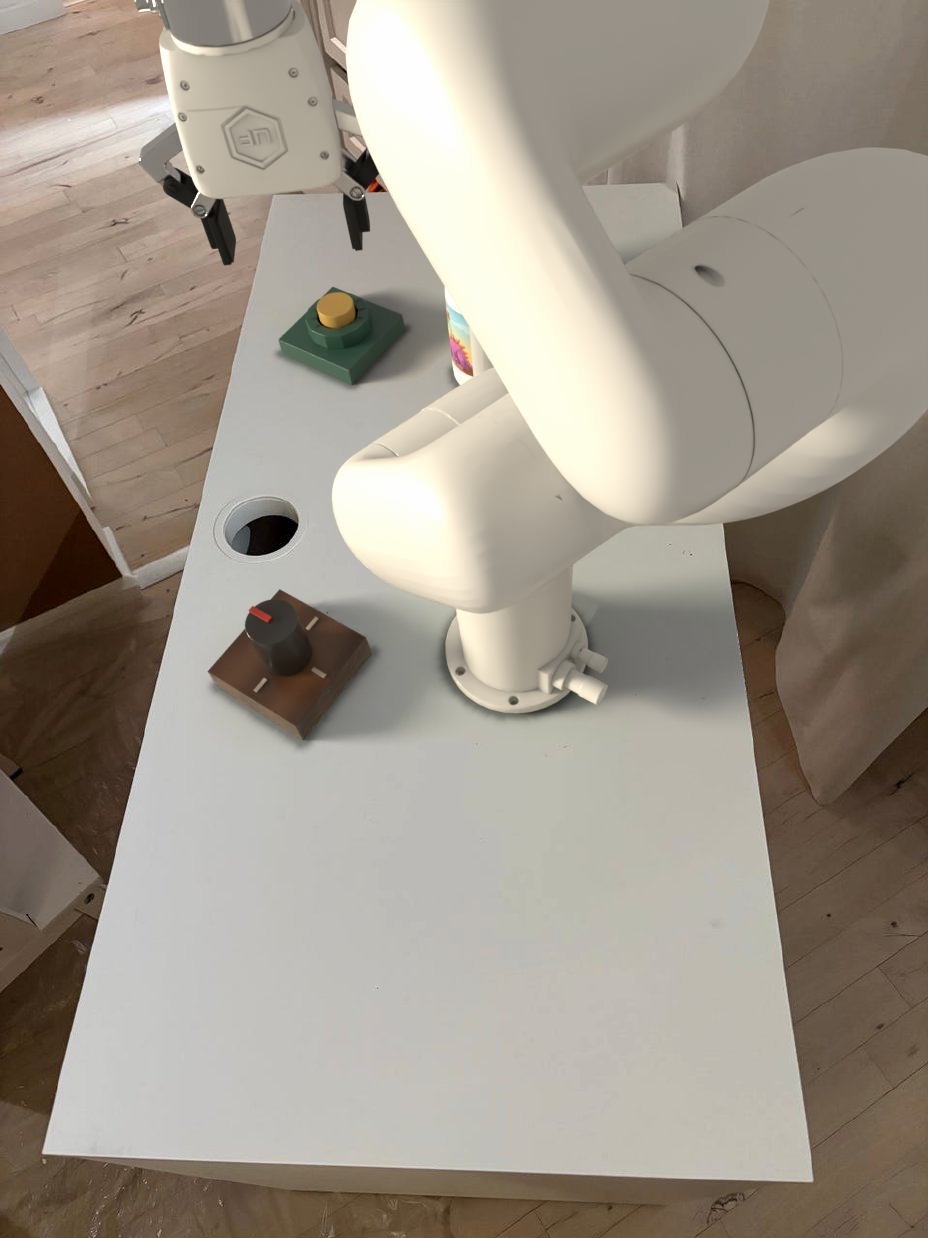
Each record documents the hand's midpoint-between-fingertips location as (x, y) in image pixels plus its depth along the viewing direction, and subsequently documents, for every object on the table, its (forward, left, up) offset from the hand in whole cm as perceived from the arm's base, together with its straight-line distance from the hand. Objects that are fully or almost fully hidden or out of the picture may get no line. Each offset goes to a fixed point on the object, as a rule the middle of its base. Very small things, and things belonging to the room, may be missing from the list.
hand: (294, 246), depth 71 cm
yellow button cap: (+15, -17, -26) cm, 34 cm away
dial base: (-7, +19, -29) cm, 36 cm away
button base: (+15, -17, -29) cm, 37 cm away
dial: (-7, +19, -26) cm, 33 cm away
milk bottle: (-2, -21, -29) cm, 36 cm away
